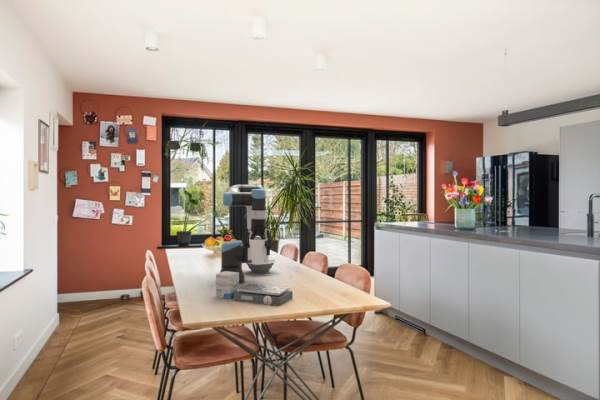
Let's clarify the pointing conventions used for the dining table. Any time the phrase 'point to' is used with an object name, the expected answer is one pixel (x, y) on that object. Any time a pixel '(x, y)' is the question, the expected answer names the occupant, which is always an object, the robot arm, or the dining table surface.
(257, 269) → the bowl
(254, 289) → the plate
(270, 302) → the scale
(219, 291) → the ink box
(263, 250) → the foam cup
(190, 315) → the dining table surface
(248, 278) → the dining table surface
